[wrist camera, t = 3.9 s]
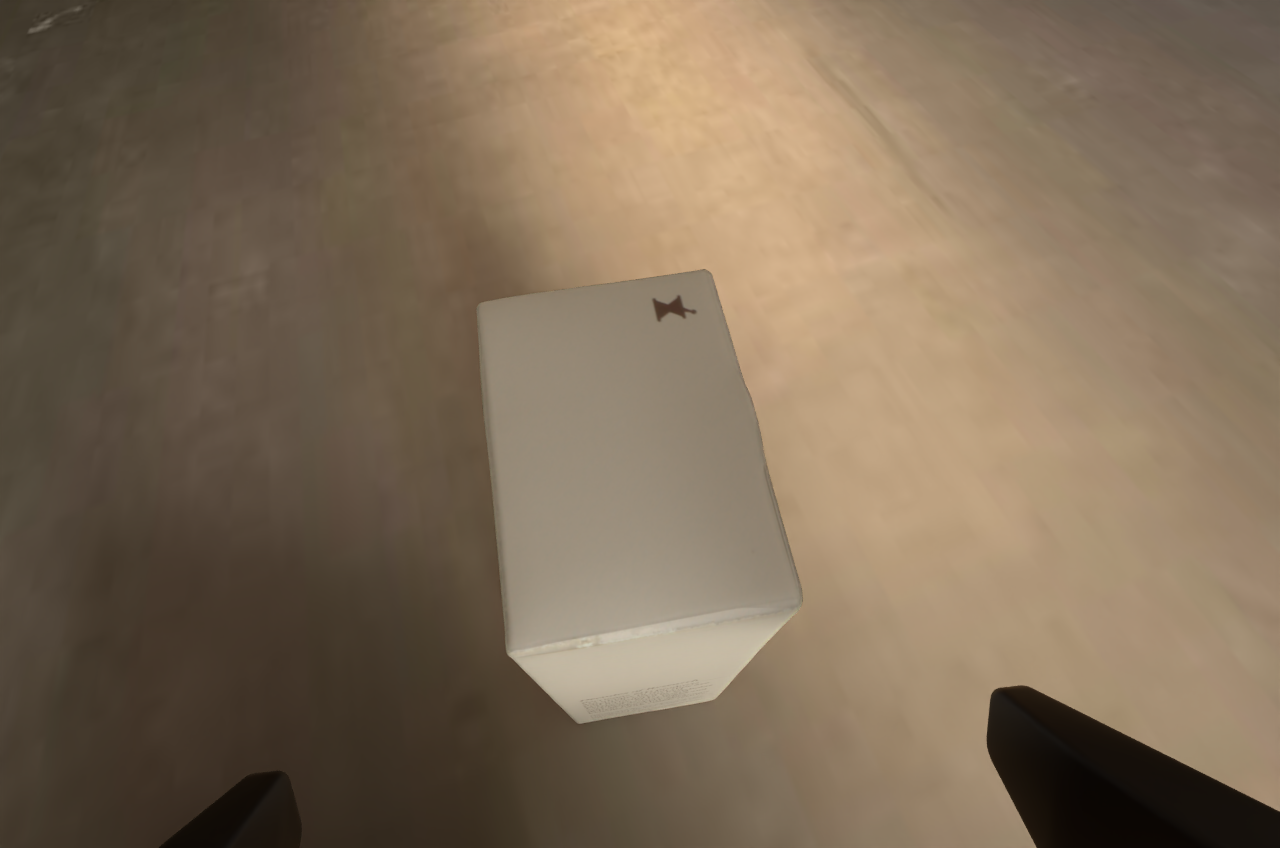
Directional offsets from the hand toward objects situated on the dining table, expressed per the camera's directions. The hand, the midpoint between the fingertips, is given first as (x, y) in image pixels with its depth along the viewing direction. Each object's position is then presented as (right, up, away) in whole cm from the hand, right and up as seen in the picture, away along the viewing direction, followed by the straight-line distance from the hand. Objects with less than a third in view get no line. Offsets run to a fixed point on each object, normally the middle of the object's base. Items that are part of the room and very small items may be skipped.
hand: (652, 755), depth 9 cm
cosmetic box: (0, -2, +12) cm, 12 cm away
